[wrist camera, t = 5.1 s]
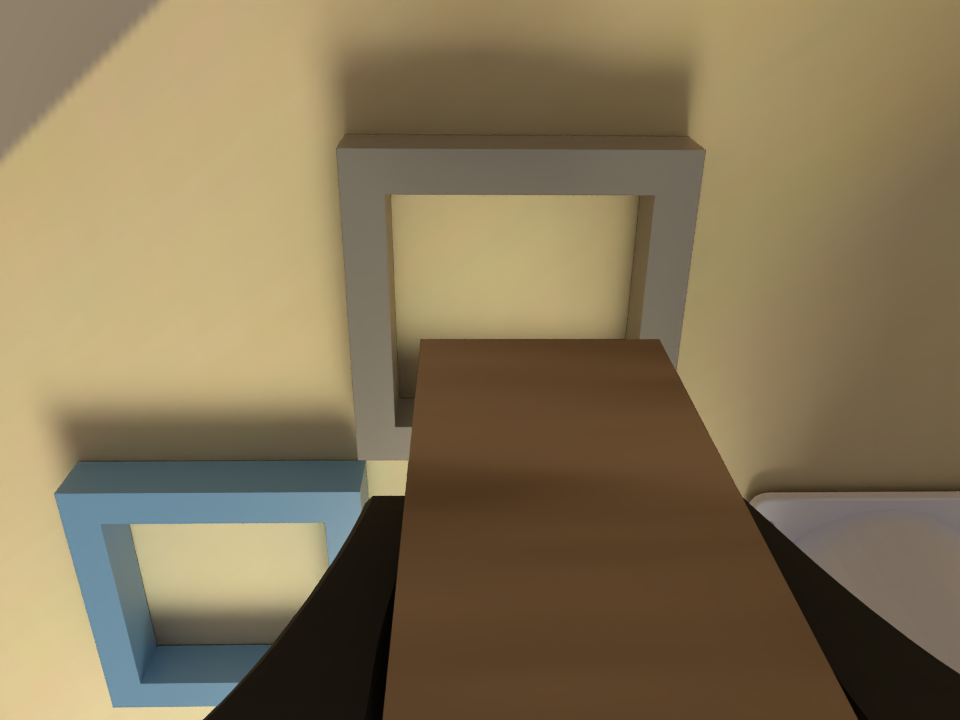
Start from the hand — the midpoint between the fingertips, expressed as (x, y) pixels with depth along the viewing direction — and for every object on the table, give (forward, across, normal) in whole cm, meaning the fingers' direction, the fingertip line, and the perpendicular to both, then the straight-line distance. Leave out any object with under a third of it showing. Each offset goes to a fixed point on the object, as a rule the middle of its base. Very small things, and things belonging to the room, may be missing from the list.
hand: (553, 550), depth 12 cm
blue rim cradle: (+10, +8, +9) cm, 16 cm away
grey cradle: (+10, 0, 0) cm, 10 cm away
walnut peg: (+3, 0, 0) cm, 3 cm away
